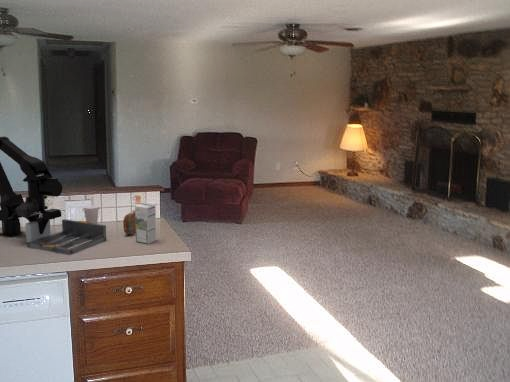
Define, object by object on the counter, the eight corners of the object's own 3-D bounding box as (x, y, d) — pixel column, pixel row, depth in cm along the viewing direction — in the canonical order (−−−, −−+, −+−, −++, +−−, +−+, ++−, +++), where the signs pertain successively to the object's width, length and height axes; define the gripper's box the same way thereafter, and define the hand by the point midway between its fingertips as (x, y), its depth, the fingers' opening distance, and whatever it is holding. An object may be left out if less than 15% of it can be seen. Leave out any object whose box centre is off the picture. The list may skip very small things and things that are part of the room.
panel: (26, 241, 206) (25, 223, 205) (45, 235, 215) (44, 217, 214) (31, 242, 205) (30, 224, 204) (50, 236, 214) (49, 218, 213)
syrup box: (156, 240, 212) (156, 204, 209) (147, 244, 207) (147, 206, 204) (144, 238, 214) (143, 202, 211) (135, 242, 209) (134, 205, 206)
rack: (26, 246, 200) (25, 230, 199) (65, 233, 218) (64, 218, 217) (70, 254, 192) (69, 237, 191) (106, 240, 210) (105, 224, 209)
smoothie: (97, 231, 222) (96, 198, 219) (81, 231, 222) (80, 197, 219) (102, 227, 228) (100, 194, 225) (86, 227, 228) (85, 194, 225)
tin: (129, 237, 216) (129, 216, 214) (122, 236, 216) (121, 215, 215) (144, 227, 230) (144, 208, 228) (137, 227, 231) (137, 207, 229)
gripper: (0, 195, 203) (3, 235, 206) (39, 200, 196) (41, 242, 199) (23, 190, 213) (26, 228, 216) (61, 194, 206) (63, 234, 209)
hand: (38, 233), depth 210 cm, fingers closed on panel, 2 cm apart
